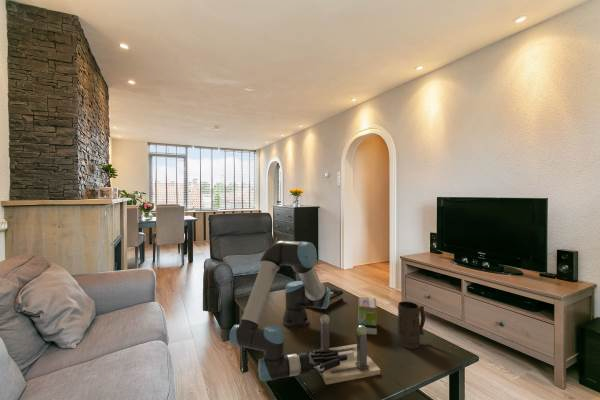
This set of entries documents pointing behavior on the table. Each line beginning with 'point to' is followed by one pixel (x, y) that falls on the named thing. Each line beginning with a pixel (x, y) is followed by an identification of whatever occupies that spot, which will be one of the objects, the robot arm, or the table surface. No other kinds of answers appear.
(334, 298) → the decorative book
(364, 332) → the grey rounded post
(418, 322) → the beer stein
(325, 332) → the grey lever
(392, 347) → the table surface
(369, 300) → the tea box
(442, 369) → the table surface
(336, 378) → the switch panel
